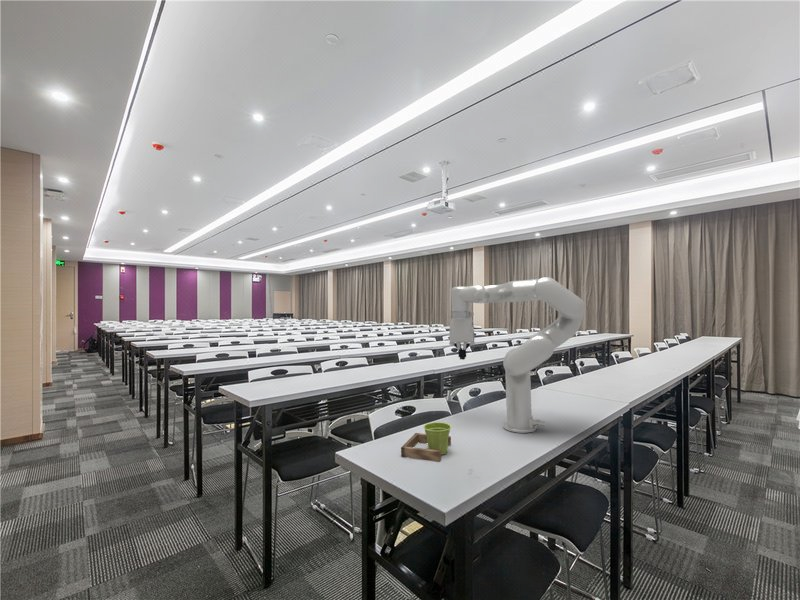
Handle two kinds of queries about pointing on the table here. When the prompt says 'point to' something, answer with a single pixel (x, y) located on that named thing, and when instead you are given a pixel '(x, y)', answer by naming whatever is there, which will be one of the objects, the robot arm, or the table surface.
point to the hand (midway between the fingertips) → (462, 359)
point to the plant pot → (437, 436)
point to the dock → (420, 449)
